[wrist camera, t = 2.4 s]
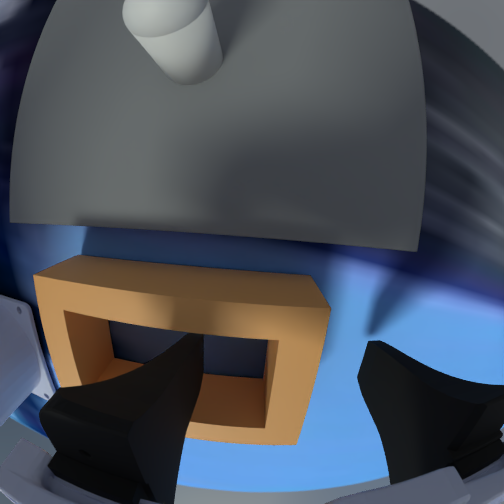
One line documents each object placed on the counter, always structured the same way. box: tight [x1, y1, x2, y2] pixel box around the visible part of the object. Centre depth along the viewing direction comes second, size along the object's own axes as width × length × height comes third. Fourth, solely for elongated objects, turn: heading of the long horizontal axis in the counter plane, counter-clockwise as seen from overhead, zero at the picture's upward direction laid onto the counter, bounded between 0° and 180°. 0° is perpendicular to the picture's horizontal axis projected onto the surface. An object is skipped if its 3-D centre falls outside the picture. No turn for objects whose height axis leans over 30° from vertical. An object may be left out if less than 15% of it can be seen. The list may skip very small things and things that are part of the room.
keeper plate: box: [10, 0, 427, 252], centre depth 7 cm, size 20×14×6 cm
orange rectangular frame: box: [33, 255, 331, 445], centre depth 11 cm, size 11×7×4 cm, turn 86°
